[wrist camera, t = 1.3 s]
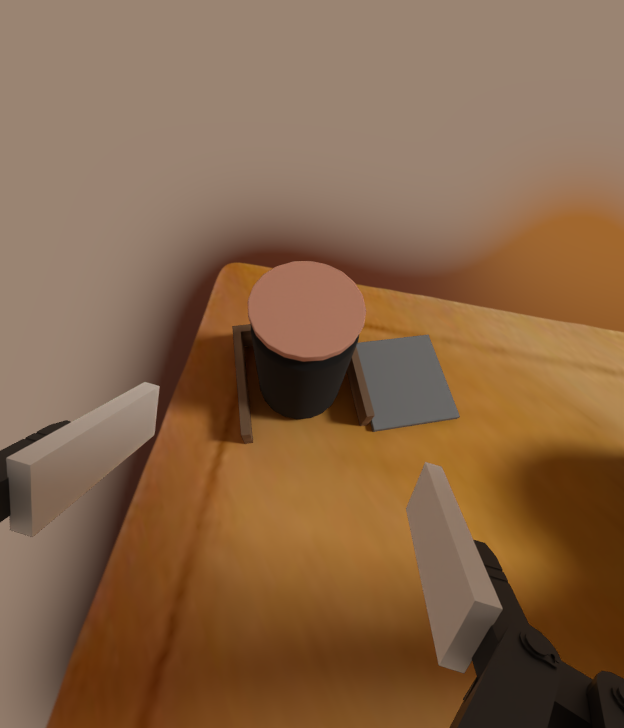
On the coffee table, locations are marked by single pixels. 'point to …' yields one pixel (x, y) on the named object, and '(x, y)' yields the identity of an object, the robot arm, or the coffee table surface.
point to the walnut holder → (240, 341)
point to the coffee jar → (304, 335)
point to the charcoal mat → (405, 383)
